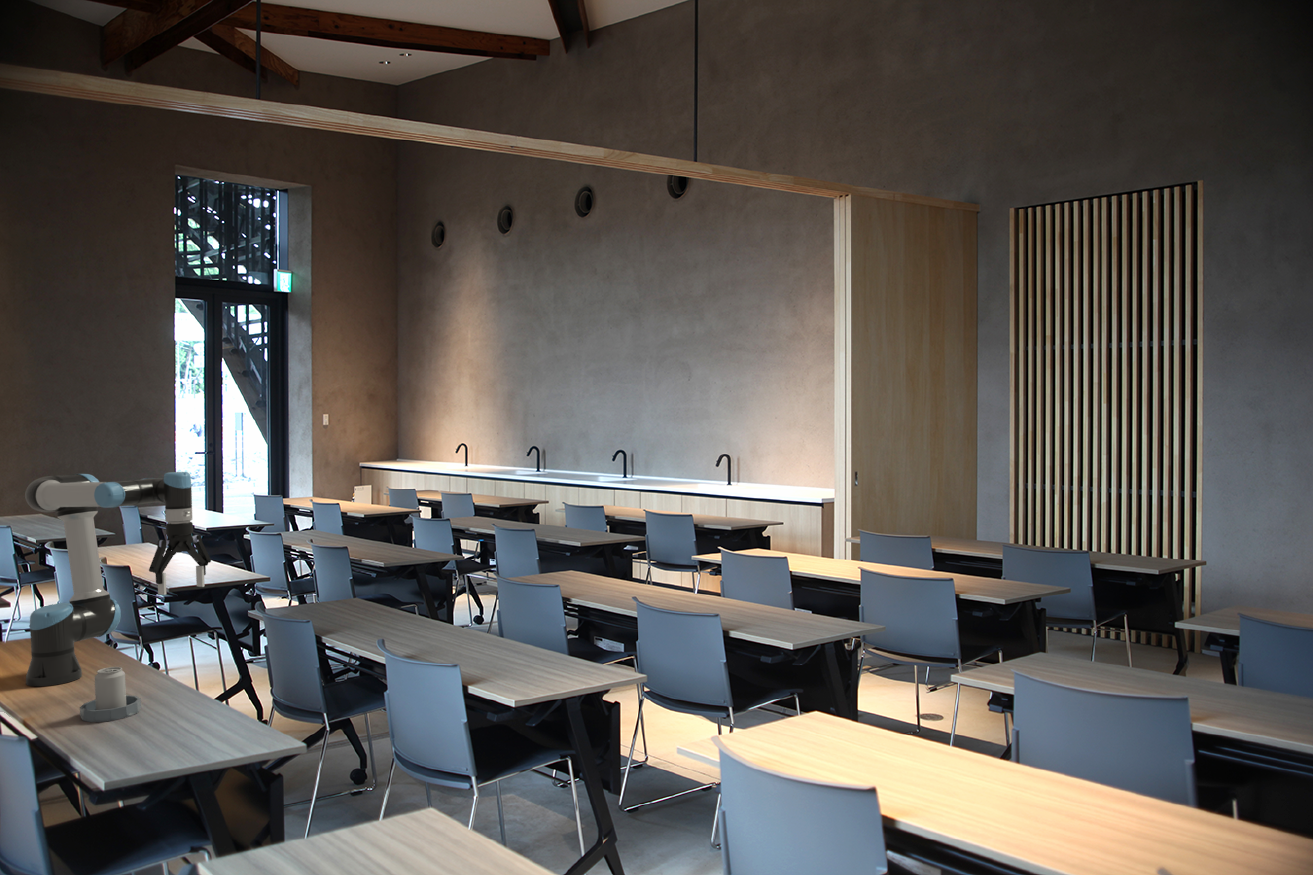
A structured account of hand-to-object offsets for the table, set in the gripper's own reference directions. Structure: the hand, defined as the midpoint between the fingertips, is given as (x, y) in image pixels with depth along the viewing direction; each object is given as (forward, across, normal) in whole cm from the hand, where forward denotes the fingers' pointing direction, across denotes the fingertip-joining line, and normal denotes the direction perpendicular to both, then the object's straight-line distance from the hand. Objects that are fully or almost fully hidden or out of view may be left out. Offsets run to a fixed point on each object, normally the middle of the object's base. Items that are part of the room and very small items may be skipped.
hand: (181, 590), depth 307 cm
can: (+28, -31, -9) cm, 43 cm away
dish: (+28, -31, -9) cm, 43 cm away
